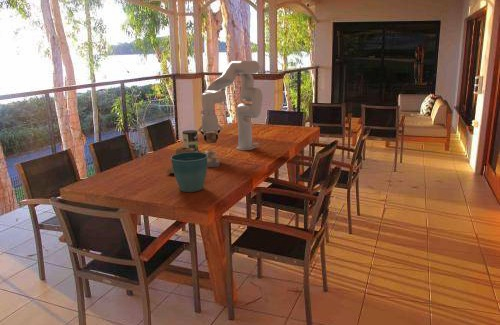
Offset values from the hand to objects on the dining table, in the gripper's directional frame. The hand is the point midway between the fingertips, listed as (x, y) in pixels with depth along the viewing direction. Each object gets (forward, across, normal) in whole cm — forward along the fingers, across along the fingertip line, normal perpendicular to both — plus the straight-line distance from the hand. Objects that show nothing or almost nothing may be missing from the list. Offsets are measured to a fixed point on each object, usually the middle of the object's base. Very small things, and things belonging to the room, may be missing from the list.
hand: (211, 140), depth 278 cm
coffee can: (+13, -13, +25) cm, 31 cm away
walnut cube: (+1, 0, 0) cm, 1 cm away
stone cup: (+11, -19, -30) cm, 37 cm away
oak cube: (+9, -2, -15) cm, 18 cm away
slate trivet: (+11, -2, -15) cm, 19 cm away
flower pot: (+10, -15, -61) cm, 64 cm away
